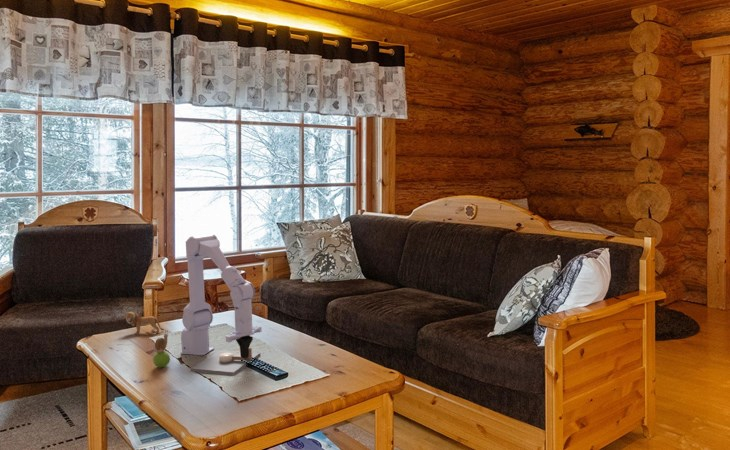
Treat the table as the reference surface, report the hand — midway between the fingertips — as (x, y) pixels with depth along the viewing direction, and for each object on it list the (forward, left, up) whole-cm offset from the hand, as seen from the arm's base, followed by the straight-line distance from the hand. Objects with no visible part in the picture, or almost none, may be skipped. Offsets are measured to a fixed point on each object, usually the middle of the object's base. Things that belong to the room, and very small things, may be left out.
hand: (244, 357), depth 211 cm
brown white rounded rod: (-4, +1, -2) cm, 5 cm away
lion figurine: (-59, +26, -3) cm, 64 cm away
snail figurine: (-27, -7, -3) cm, 29 cm away
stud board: (-7, +1, -3) cm, 8 cm away
